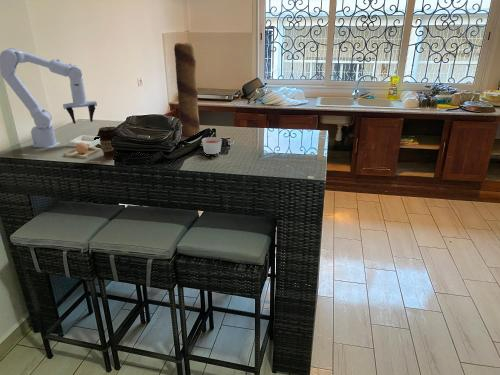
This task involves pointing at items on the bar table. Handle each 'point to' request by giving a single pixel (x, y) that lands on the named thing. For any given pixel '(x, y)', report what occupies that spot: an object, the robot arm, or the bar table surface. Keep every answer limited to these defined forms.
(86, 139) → the dish
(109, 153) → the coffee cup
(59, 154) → the bar table surface
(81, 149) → the ball
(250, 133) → the bar table surface
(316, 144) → the bar table surface
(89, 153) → the tray
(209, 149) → the candle
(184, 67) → the wafer roll
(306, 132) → the bar table surface
